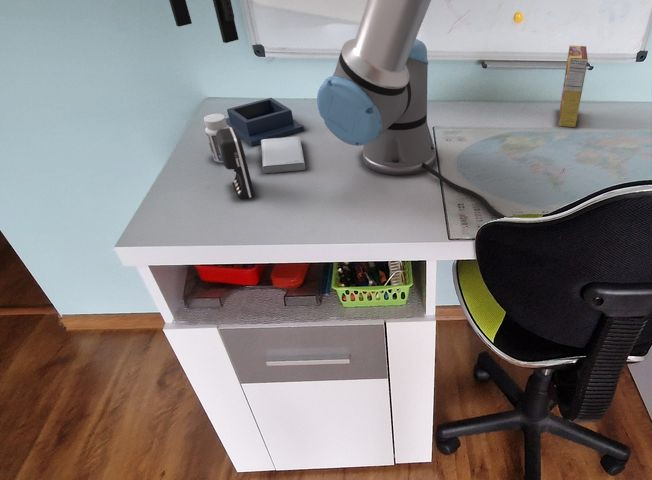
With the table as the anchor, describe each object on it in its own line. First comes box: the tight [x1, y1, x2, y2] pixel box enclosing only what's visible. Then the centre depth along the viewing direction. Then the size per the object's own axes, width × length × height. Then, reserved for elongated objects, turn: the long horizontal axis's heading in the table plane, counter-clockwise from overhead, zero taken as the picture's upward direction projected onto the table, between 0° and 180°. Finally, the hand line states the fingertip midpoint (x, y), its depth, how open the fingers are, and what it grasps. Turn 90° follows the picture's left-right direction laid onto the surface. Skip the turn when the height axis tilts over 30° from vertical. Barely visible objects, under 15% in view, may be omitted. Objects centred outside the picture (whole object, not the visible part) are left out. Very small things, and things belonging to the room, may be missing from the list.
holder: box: [225, 97, 305, 147], centre depth 121 cm, size 14×13×4 cm
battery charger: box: [216, 127, 255, 199], centre depth 98 cm, size 7×4×11 cm, turn 25°
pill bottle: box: [203, 113, 229, 164], centre depth 109 cm, size 5×5×8 cm
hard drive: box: [260, 136, 306, 174], centre depth 112 cm, size 2×8×12 cm
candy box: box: [558, 44, 589, 128], centre depth 126 cm, size 9×4×15 cm, turn 171°
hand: (207, 32), depth 96 cm, fingers open, 13 cm apart
